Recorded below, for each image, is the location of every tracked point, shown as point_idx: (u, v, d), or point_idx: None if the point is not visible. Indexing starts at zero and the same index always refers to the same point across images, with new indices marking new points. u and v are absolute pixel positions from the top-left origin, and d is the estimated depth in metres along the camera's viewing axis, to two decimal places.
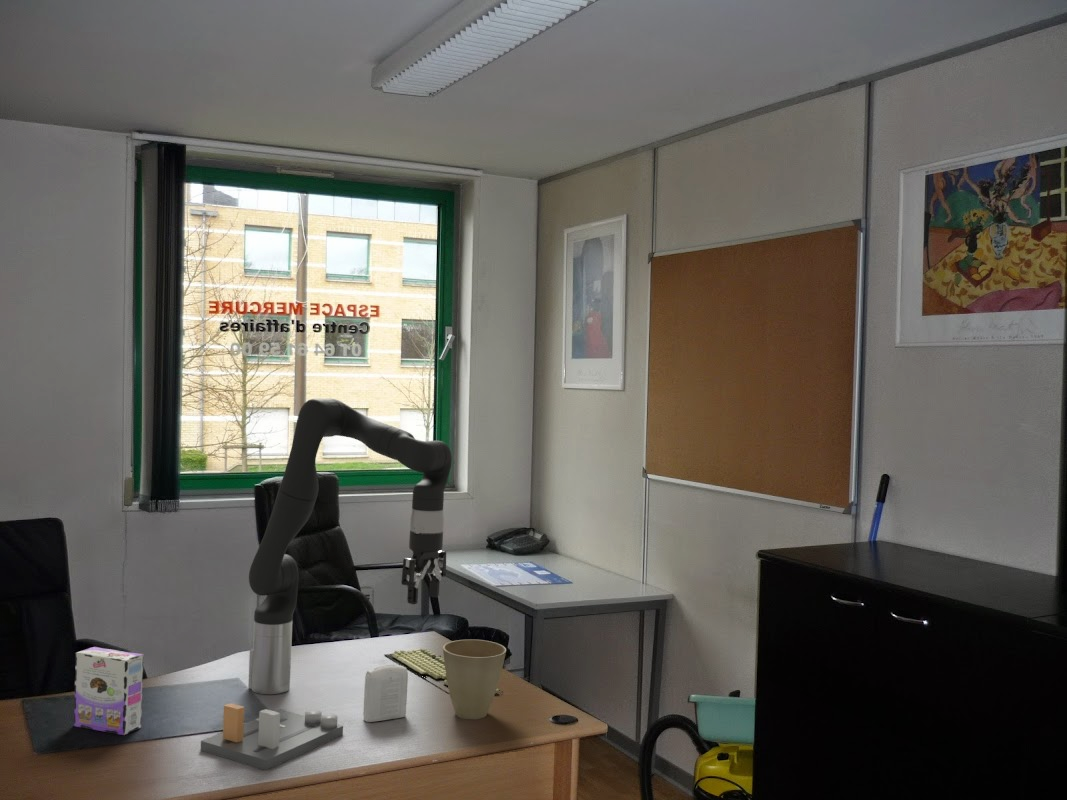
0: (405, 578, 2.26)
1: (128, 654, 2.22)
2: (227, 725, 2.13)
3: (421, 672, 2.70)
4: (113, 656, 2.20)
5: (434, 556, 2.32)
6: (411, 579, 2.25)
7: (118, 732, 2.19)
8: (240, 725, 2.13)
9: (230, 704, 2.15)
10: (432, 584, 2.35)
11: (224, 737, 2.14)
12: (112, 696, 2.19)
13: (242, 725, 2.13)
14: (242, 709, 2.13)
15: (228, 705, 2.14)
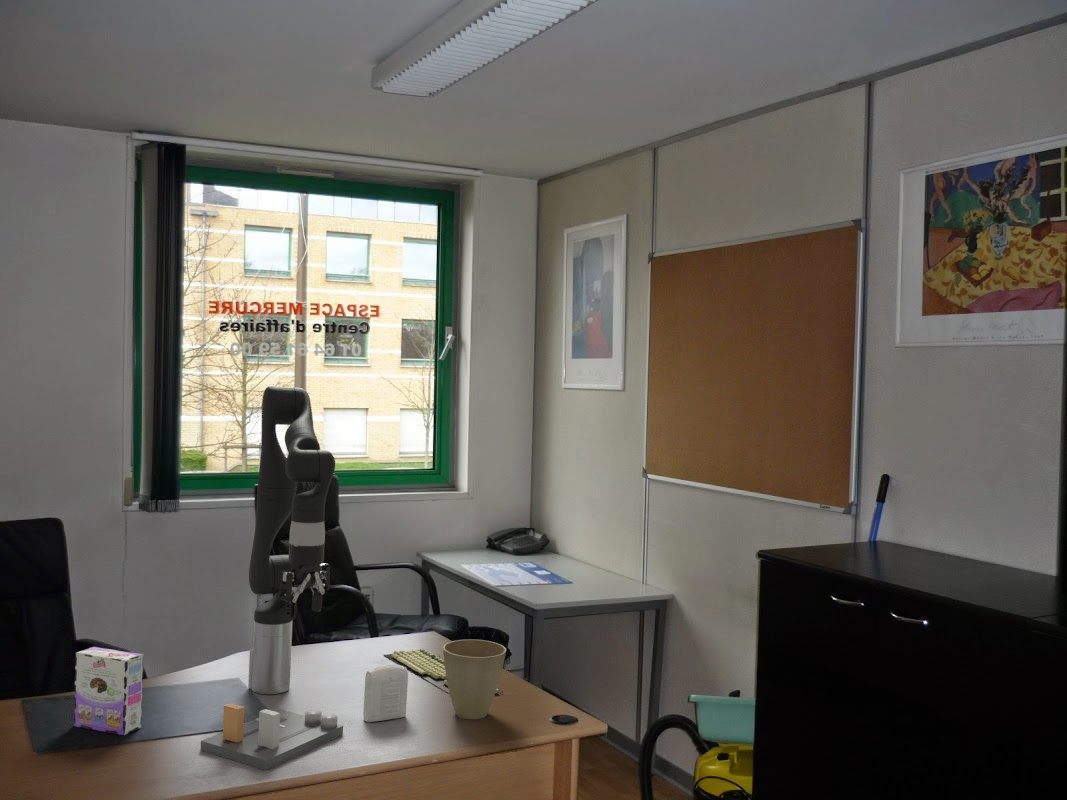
0: (282, 593, 2.18)
1: (128, 654, 2.22)
2: (227, 725, 2.13)
3: (421, 672, 2.70)
4: (113, 656, 2.20)
5: (315, 569, 2.24)
6: (288, 593, 2.16)
7: (118, 732, 2.19)
8: (240, 725, 2.13)
9: (230, 704, 2.15)
10: (314, 598, 2.27)
11: (224, 737, 2.14)
12: (112, 696, 2.19)
13: (242, 725, 2.13)
14: (242, 709, 2.13)
15: (228, 705, 2.14)
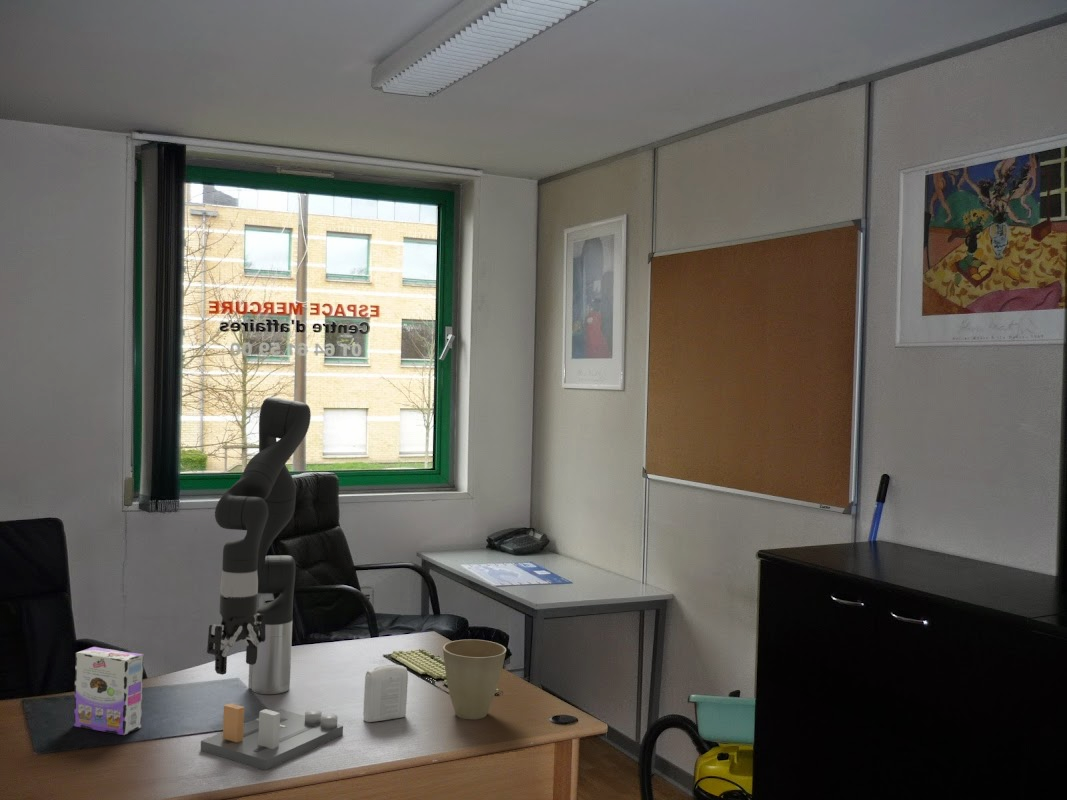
0: (211, 646, 2.08)
1: (128, 654, 2.22)
2: (227, 725, 2.13)
3: (420, 672, 2.70)
4: (113, 656, 2.20)
5: (249, 620, 2.14)
6: (216, 647, 2.06)
7: (118, 732, 2.19)
8: (240, 725, 2.13)
9: (230, 704, 2.15)
10: (249, 650, 2.17)
11: (224, 737, 2.14)
12: (112, 696, 2.19)
13: (242, 725, 2.13)
14: (242, 709, 2.13)
15: (228, 705, 2.14)
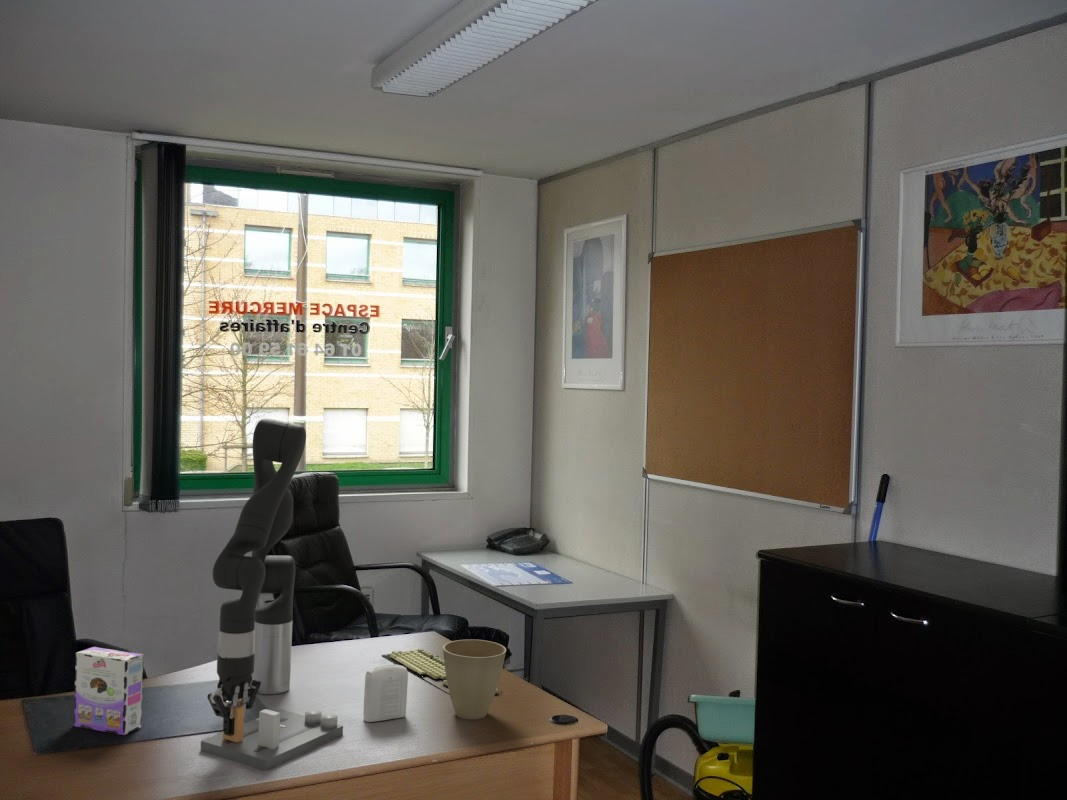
0: (218, 709, 2.11)
1: (128, 654, 2.22)
2: None
3: (420, 672, 2.70)
4: (113, 656, 2.20)
5: (246, 680, 2.15)
6: (222, 713, 2.09)
7: (118, 732, 2.19)
8: (240, 725, 2.13)
9: None
10: None
11: (224, 737, 2.14)
12: (112, 696, 2.19)
13: (242, 725, 2.13)
14: (242, 709, 2.13)
15: None
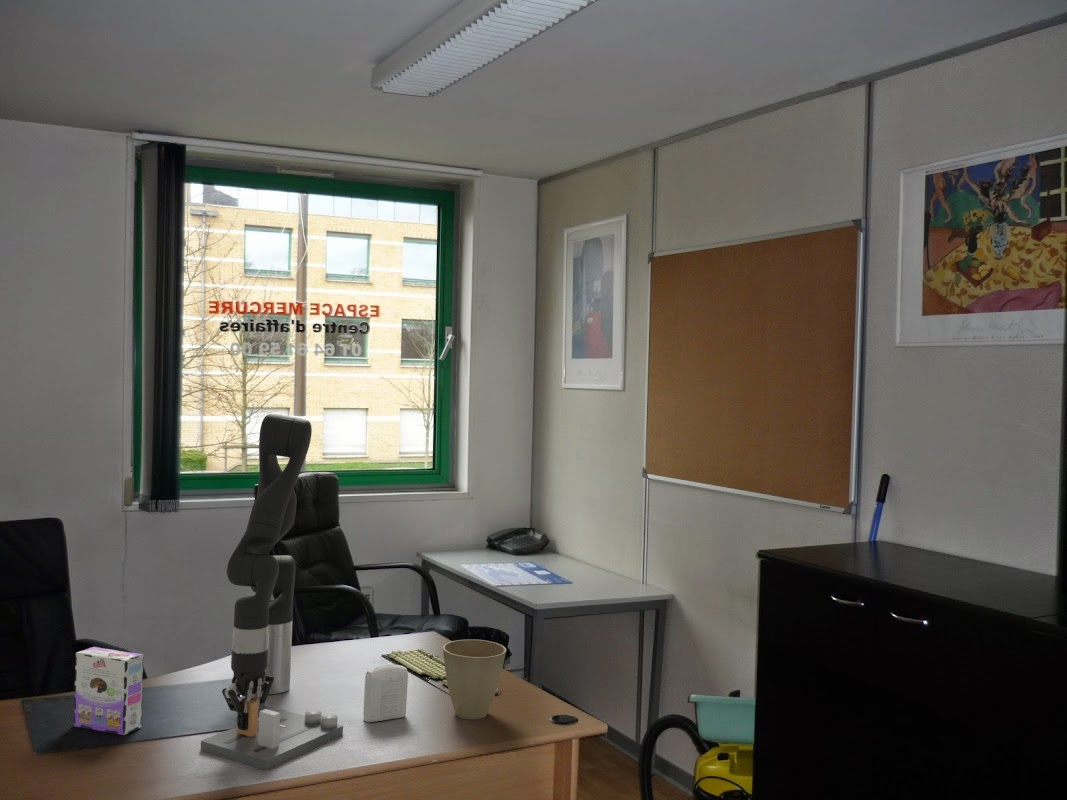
0: (232, 704, 2.14)
1: (128, 654, 2.22)
2: None
3: (419, 672, 2.70)
4: (113, 656, 2.20)
5: (259, 675, 2.18)
6: (237, 708, 2.13)
7: (118, 732, 2.19)
8: (254, 719, 2.16)
9: None
10: None
11: (238, 731, 2.17)
12: (112, 696, 2.19)
13: (256, 720, 2.17)
14: (256, 704, 2.17)
15: None
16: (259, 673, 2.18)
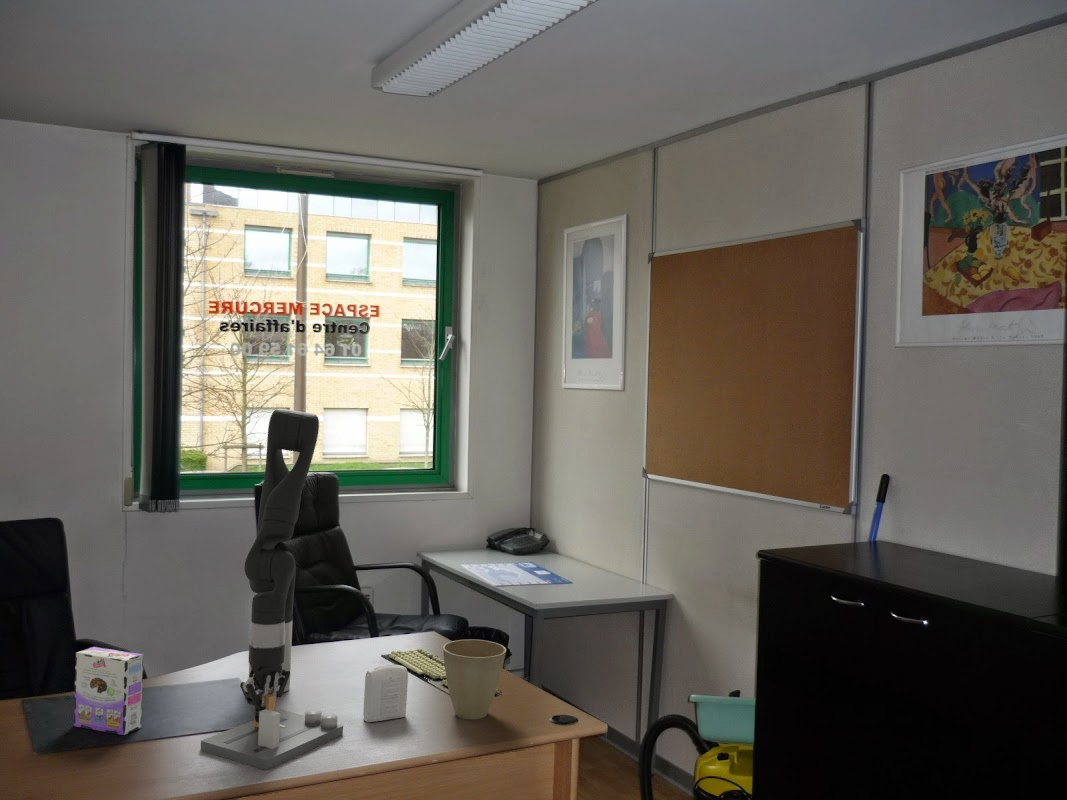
0: (250, 698, 2.19)
1: (128, 654, 2.22)
2: None
3: (419, 672, 2.70)
4: (113, 656, 2.20)
5: (276, 669, 2.23)
6: (254, 701, 2.17)
7: (118, 732, 2.19)
8: None
9: None
10: None
11: (255, 724, 2.22)
12: (112, 696, 2.19)
13: None
14: (273, 697, 2.21)
15: None
16: (276, 667, 2.23)
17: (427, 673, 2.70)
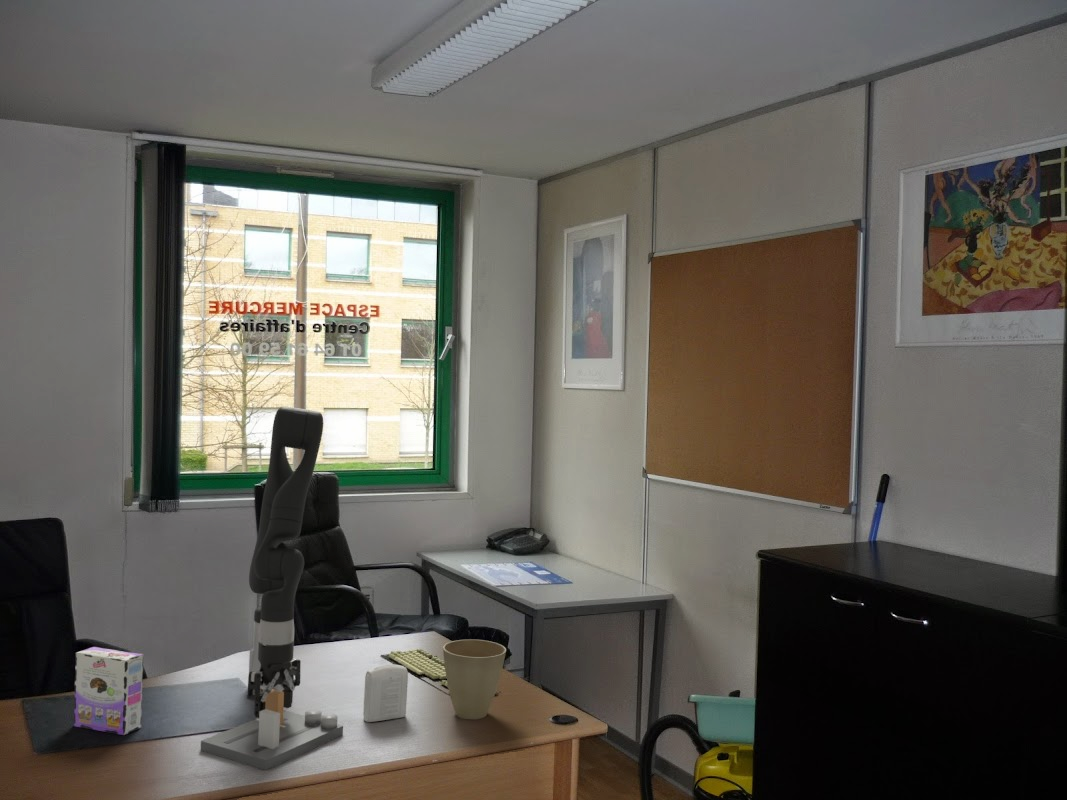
0: (251, 692, 2.19)
1: (128, 654, 2.22)
2: (267, 709, 2.24)
3: (418, 672, 2.70)
4: (113, 656, 2.20)
5: (285, 666, 2.25)
6: (256, 694, 2.17)
7: (118, 732, 2.19)
8: (280, 709, 2.23)
9: None
10: (285, 694, 2.28)
11: None
12: (112, 696, 2.19)
13: (282, 709, 2.24)
14: (282, 694, 2.23)
15: None
16: (285, 664, 2.25)
17: (426, 673, 2.70)
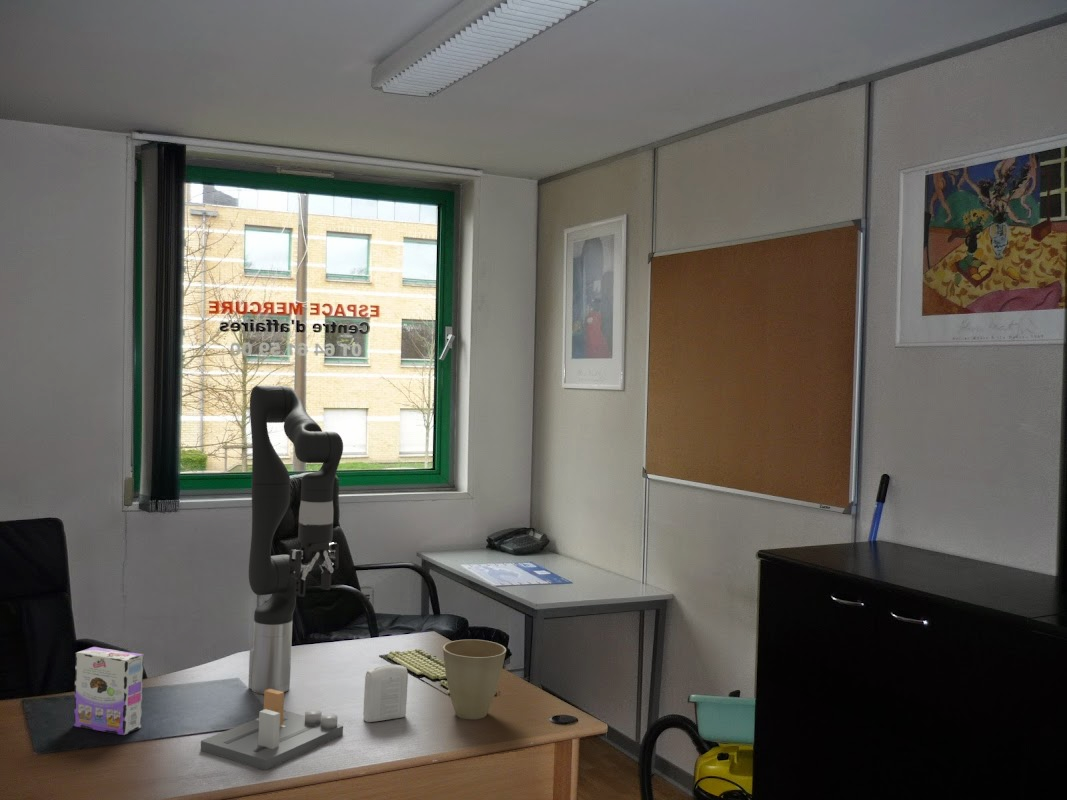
0: (292, 570, 2.24)
1: (128, 654, 2.22)
2: (267, 709, 2.24)
3: (417, 673, 2.69)
4: (113, 656, 2.20)
5: (324, 548, 2.30)
6: (297, 570, 2.22)
7: (118, 732, 2.19)
8: (280, 709, 2.23)
9: (270, 689, 2.25)
10: (324, 576, 2.33)
11: None
12: (112, 696, 2.19)
13: (282, 709, 2.24)
14: (282, 694, 2.23)
15: (268, 690, 2.24)
16: (324, 546, 2.30)
17: (425, 673, 2.69)
